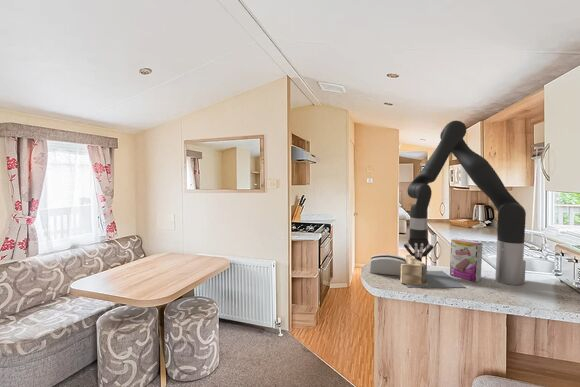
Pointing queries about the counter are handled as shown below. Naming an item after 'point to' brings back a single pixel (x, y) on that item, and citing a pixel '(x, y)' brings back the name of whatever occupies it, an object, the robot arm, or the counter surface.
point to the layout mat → (436, 281)
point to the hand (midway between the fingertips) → (417, 265)
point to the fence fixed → (413, 273)
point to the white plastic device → (386, 264)
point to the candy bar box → (466, 259)
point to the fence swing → (412, 260)
